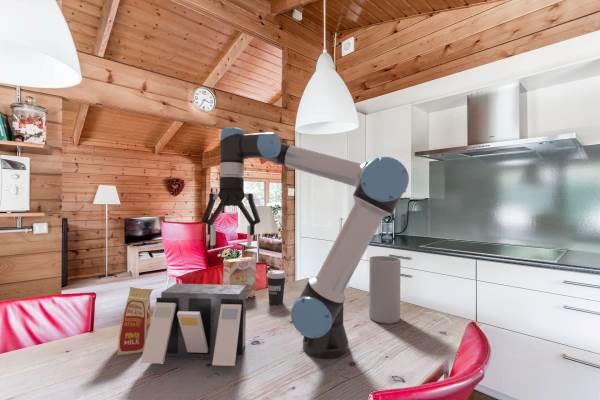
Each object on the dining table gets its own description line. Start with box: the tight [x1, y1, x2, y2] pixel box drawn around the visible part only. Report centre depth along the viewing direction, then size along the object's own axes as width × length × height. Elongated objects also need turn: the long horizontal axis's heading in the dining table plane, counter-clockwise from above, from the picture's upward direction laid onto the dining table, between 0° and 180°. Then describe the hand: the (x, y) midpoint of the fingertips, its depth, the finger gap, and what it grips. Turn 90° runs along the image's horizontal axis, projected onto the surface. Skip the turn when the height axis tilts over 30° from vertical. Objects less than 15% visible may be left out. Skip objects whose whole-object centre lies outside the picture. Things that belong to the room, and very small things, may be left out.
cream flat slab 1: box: [177, 311, 208, 353], centre depth 87 cm, size 1×6×16 cm, turn 87°
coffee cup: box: [266, 269, 287, 306], centre depth 143 cm, size 10×10×15 cm
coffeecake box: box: [222, 256, 257, 299], centre depth 151 cm, size 15×7×20 cm, turn 131°
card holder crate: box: [155, 283, 247, 362], centre depth 96 cm, size 10×27×20 cm, turn 88°
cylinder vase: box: [368, 255, 402, 325], centre depth 126 cm, size 12×12×25 cm
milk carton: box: [117, 285, 155, 356], centre depth 99 cm, size 9×9×20 cm
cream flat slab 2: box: [211, 304, 242, 367], centre depth 86 cm, size 1×6×16 cm, turn 89°
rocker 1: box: [140, 302, 176, 364], centre depth 87 cm, size 1×6×16 cm, turn 88°
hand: (231, 245), depth 96 cm, fingers open, 11 cm apart
